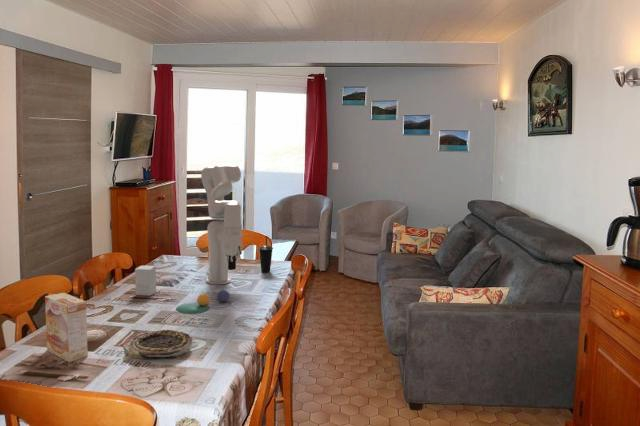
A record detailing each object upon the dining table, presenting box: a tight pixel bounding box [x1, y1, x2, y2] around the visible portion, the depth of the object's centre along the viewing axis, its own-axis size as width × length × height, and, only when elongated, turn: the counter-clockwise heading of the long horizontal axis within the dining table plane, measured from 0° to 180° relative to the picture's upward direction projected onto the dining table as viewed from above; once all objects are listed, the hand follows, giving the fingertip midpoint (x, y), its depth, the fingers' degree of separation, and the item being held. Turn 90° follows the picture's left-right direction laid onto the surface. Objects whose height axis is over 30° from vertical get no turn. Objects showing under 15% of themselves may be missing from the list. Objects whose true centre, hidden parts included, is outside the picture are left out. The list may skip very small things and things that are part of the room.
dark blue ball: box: [216, 289, 230, 303], centre depth 249 cm, size 6×6×6 cm
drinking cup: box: [258, 236, 274, 274], centre depth 305 cm, size 8×8×20 cm
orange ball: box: [196, 293, 211, 306], centre depth 243 cm, size 6×6×6 cm
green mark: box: [176, 302, 210, 315], centre depth 240 cm, size 14×14×1 cm
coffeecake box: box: [44, 292, 89, 363], centre depth 187 cm, size 15×7×20 cm, turn 52°
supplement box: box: [134, 265, 157, 296], centre depth 258 cm, size 7×7×13 cm
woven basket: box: [123, 329, 193, 365], centre depth 193 cm, size 28×27×5 cm
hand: (231, 269), depth 253 cm, fingers closed
